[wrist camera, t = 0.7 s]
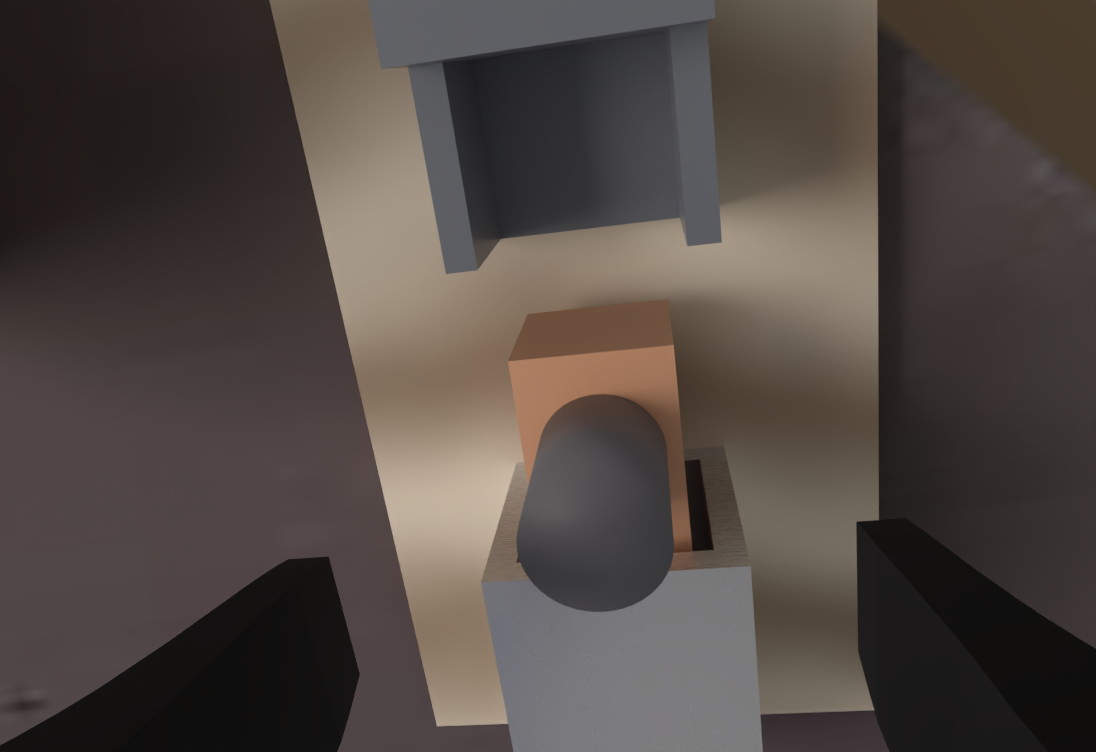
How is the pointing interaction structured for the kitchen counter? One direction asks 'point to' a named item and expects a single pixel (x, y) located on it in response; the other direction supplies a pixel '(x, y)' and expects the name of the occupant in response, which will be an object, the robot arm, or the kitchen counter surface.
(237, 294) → the kitchen counter surface
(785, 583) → the base board
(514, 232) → the socket cradle
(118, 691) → the robot arm
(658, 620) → the sleeve
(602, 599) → the bar
